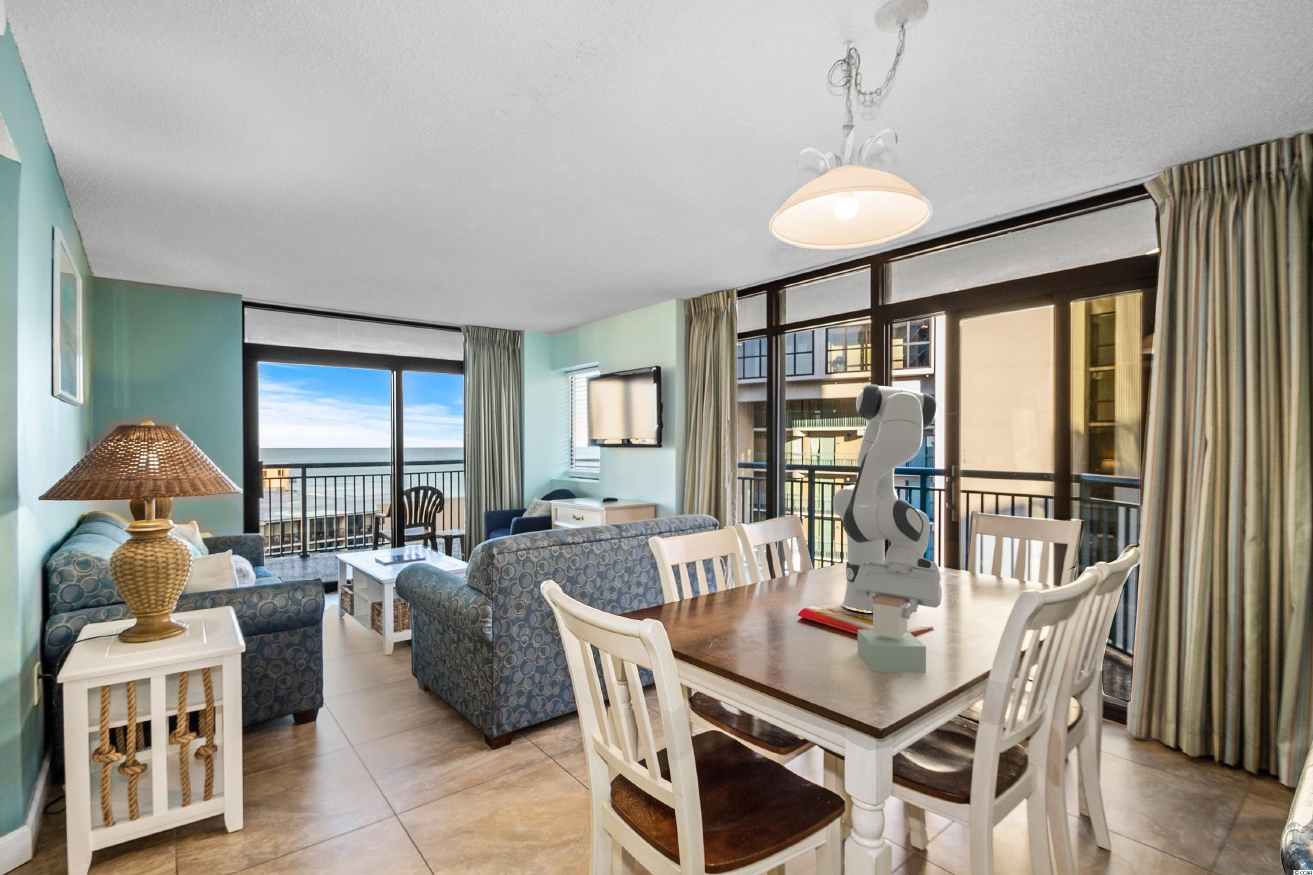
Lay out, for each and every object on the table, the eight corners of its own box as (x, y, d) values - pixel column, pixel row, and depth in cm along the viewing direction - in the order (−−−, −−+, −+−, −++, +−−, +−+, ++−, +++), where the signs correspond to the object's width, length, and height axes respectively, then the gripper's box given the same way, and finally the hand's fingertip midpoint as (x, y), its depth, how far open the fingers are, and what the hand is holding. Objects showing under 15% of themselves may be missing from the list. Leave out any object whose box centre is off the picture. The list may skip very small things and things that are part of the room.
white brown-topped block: (881, 627, 152) (881, 594, 152) (906, 632, 148) (906, 598, 148) (873, 633, 147) (873, 599, 147) (899, 638, 144) (899, 603, 144)
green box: (906, 654, 154) (906, 630, 154) (925, 672, 142) (925, 646, 142) (857, 653, 154) (857, 629, 154) (872, 671, 142) (872, 645, 142)
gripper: (858, 554, 160) (843, 599, 152) (943, 564, 147) (931, 614, 139) (864, 568, 163) (850, 613, 156) (947, 579, 151) (937, 629, 143)
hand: (889, 614), depth 147 cm, fingers closed on white brown-topped block, 6 cm apart
